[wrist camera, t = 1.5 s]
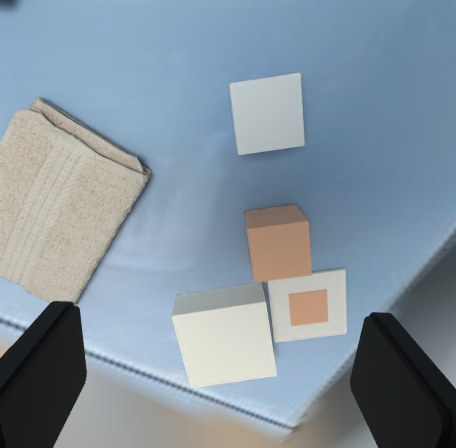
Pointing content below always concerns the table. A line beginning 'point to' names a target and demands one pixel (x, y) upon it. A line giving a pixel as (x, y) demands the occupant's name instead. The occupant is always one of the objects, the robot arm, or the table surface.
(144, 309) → the table surface
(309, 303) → the card
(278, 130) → the grey blue block
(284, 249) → the terracotta block
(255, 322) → the base block
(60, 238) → the washcloth
